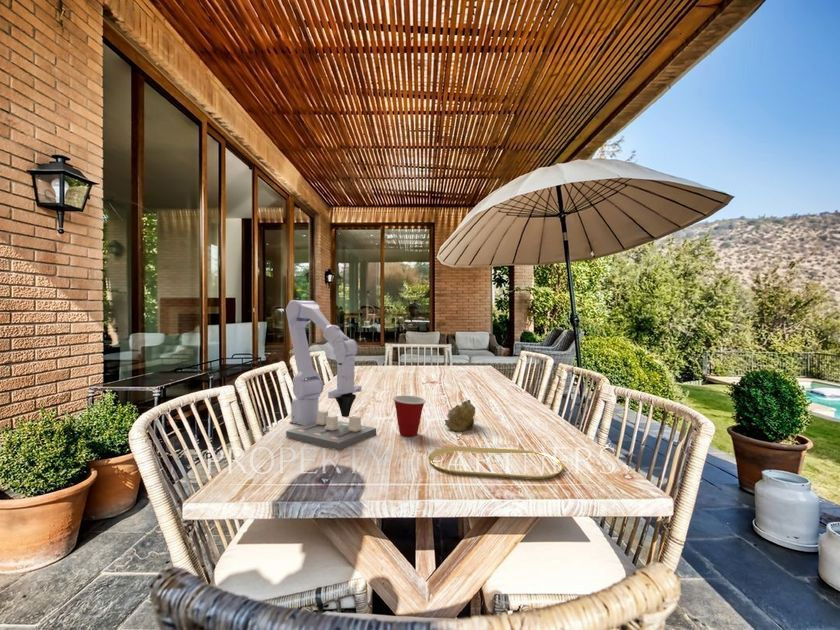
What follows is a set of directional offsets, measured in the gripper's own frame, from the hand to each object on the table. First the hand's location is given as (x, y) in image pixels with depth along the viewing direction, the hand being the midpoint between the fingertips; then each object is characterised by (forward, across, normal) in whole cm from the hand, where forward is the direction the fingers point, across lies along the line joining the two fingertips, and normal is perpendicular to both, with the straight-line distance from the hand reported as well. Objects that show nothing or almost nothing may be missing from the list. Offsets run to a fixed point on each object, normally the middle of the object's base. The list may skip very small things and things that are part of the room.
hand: (345, 416), depth 138 cm
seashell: (+5, +26, -30) cm, 40 cm away
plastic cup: (+5, +9, -20) cm, 22 cm away
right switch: (+3, -3, -7) cm, 8 cm away
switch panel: (+5, -6, 0) cm, 8 cm away
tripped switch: (+3, -6, 0) cm, 7 cm away
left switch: (+3, -3, +7) cm, 8 cm away
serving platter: (+6, -2, -53) cm, 53 cm away
